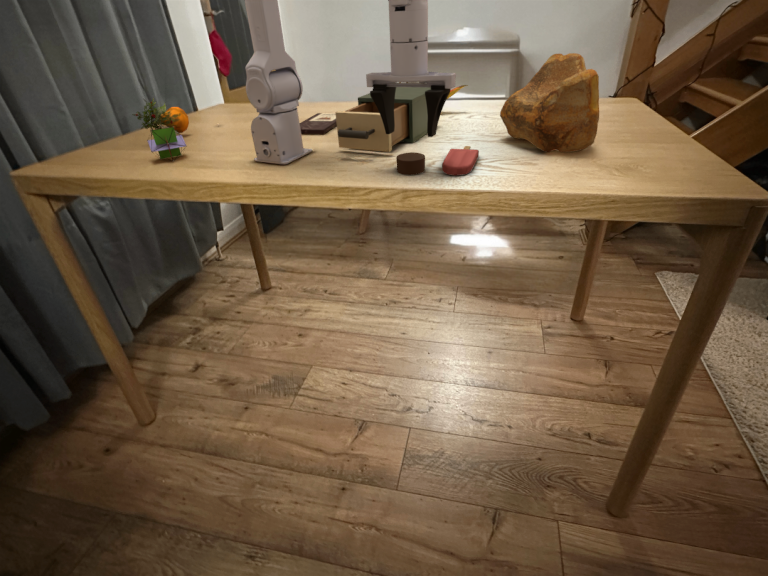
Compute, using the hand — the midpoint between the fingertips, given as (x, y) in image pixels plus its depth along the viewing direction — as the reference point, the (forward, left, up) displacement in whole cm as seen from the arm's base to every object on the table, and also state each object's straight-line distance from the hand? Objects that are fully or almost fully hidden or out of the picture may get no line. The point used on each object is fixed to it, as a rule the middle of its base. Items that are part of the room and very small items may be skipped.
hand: (410, 134), depth 72 cm
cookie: (0, 0, -6) cm, 6 cm away
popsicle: (+7, -7, -6) cm, 12 cm away
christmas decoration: (+19, +64, -6) cm, 67 cm away
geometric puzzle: (-8, +51, -6) cm, 52 cm away
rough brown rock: (+25, -18, -6) cm, 31 cm away
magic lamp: (+45, +13, -6) cm, 47 cm away
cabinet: (+24, +13, -6) cm, 28 cm away
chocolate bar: (+26, +36, -6) cm, 45 cm away
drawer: (+11, +13, -5) cm, 18 cm away
